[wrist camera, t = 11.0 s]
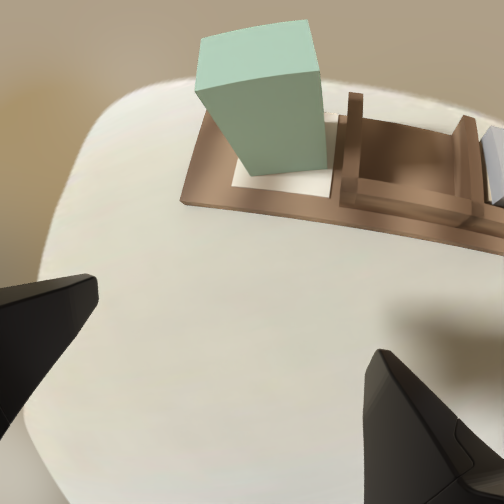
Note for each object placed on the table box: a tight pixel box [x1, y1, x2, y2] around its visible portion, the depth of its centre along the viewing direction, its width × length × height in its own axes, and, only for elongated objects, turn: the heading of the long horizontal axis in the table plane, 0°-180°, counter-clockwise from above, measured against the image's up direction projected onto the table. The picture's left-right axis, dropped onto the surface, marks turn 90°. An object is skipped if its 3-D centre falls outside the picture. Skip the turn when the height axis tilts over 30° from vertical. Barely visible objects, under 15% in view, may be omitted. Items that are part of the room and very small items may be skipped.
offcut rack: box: [180, 92, 504, 256], centre depth 18 cm, size 30×8×4 cm, turn 78°
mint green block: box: [195, 20, 327, 176], centre depth 17 cm, size 6×4×10 cm
